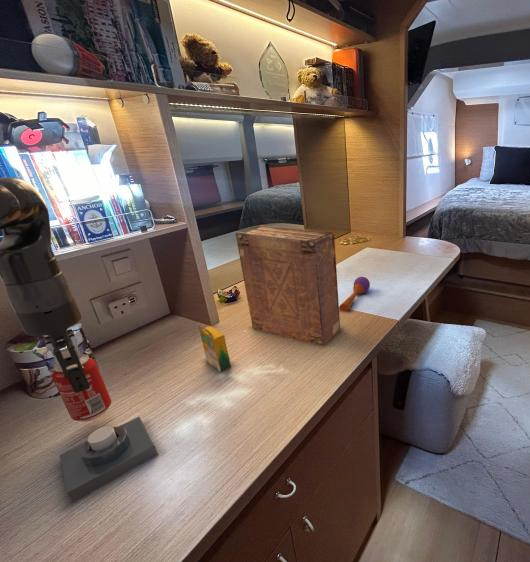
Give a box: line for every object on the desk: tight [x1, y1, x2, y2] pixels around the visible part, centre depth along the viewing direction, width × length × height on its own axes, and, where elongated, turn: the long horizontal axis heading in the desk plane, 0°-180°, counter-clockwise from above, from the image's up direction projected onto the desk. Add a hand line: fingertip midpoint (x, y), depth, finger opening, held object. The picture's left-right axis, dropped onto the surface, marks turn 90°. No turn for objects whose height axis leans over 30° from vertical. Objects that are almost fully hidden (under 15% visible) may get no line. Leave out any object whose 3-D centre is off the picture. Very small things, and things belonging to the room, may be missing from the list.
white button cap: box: [87, 425, 117, 452], centre depth 58 cm, size 4×4×2 cm
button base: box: [59, 416, 159, 503], centre depth 59 cm, size 12×10×5 cm
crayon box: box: [197, 323, 232, 373], centre depth 84 cm, size 7×3×12 cm, turn 50°
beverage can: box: [51, 353, 112, 423], centre depth 64 cm, size 6×6×12 cm
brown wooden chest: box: [235, 224, 341, 347], centre depth 95 cm, size 25×9×30 cm, turn 66°
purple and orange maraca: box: [339, 276, 371, 312], centre depth 119 cm, size 6×6×20 cm
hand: (79, 381), depth 64 cm, fingers closed on beverage can, 6 cm apart
